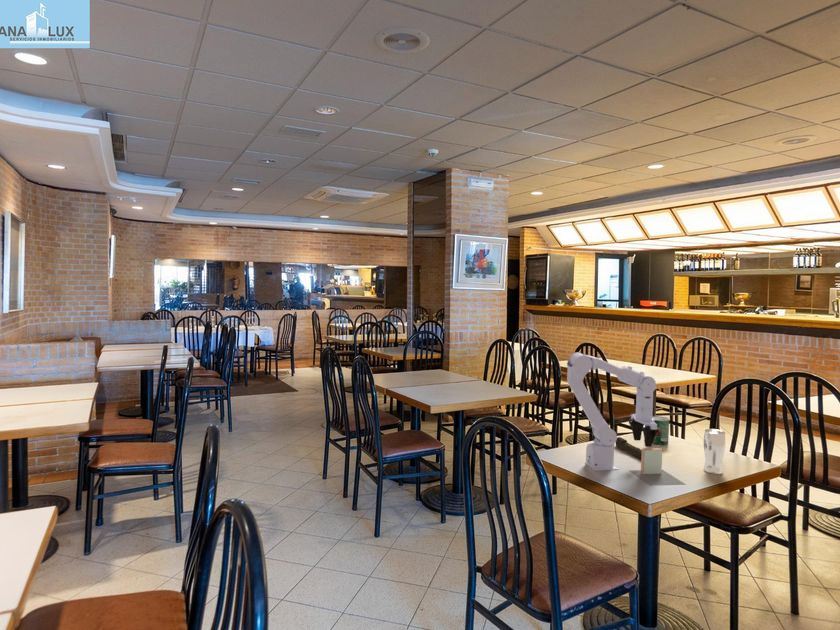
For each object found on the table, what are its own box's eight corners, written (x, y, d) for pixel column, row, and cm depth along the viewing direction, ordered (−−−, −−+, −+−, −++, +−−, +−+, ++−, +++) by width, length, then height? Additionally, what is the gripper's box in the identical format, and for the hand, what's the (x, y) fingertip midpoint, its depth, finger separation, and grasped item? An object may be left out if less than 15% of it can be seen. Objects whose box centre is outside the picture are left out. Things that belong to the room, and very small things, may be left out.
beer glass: (711, 467, 194) (713, 428, 194) (728, 473, 188) (730, 433, 187) (697, 469, 192) (699, 429, 191) (714, 475, 185) (716, 434, 185)
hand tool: (649, 461, 201) (649, 449, 201) (639, 461, 200) (640, 450, 200) (621, 446, 219) (622, 435, 219) (613, 446, 219) (613, 435, 218)
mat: (650, 486, 175) (650, 485, 175) (629, 471, 189) (629, 470, 189) (686, 485, 176) (686, 484, 176) (662, 470, 190) (662, 469, 190)
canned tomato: (645, 442, 224) (646, 418, 223) (652, 439, 229) (653, 415, 229) (664, 447, 218) (665, 421, 217) (671, 443, 223) (672, 418, 223)
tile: (643, 474, 185) (644, 450, 184) (640, 472, 186) (641, 448, 186) (661, 474, 185) (662, 449, 185) (658, 472, 187) (660, 448, 186)
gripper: (665, 412, 184) (663, 449, 185) (643, 402, 199) (642, 437, 199) (647, 412, 183) (645, 449, 184) (626, 402, 198) (624, 437, 199)
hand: (642, 443), depth 192 cm, fingers open, 7 cm apart
